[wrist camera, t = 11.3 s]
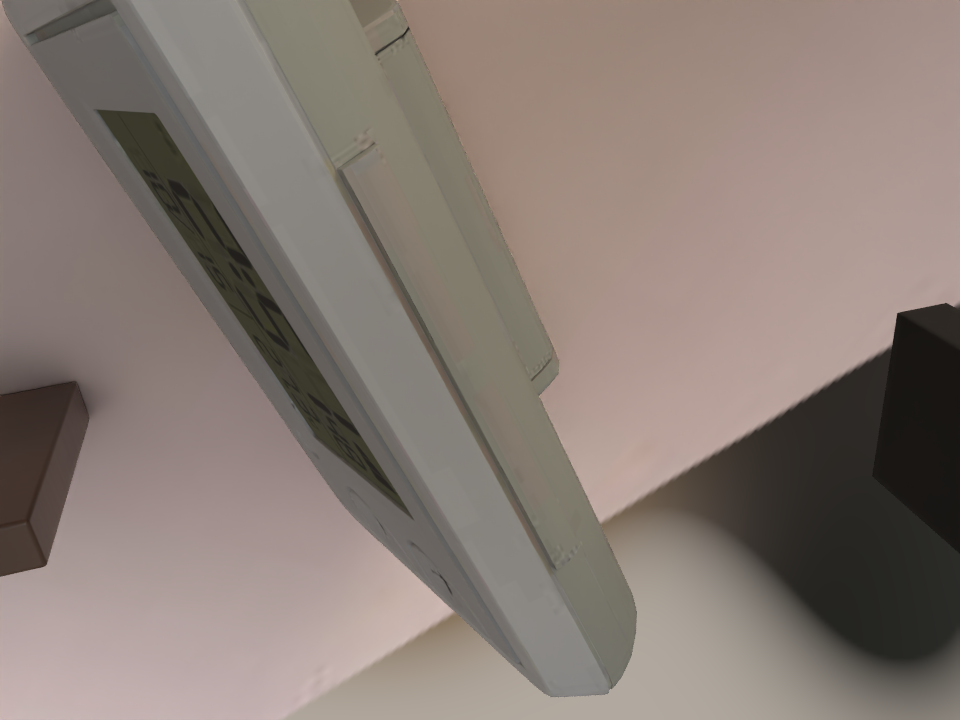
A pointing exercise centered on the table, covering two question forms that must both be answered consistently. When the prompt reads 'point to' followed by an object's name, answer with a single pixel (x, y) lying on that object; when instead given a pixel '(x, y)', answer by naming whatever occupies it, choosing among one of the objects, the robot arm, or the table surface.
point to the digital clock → (357, 291)
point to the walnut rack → (36, 470)
